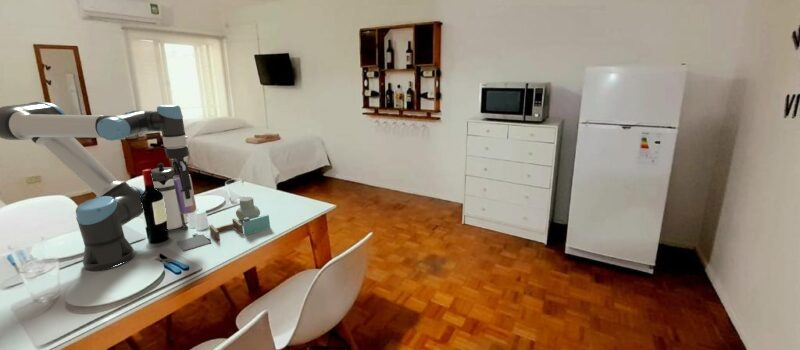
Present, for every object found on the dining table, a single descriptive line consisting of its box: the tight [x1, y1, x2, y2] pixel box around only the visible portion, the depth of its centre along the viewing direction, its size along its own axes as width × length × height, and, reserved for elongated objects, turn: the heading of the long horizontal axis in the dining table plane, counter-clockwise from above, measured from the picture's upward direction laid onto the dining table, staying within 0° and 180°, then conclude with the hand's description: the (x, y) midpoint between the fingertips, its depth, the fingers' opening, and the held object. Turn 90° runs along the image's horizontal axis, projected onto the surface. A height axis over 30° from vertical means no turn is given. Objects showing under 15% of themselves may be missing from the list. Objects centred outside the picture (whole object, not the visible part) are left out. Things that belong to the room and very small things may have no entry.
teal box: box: [242, 214, 271, 236], centre depth 161 cm, size 11×2×7 cm, turn 132°
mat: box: [176, 234, 212, 252], centre depth 152 cm, size 10×10×1 cm
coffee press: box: [150, 162, 189, 231], centre depth 161 cm, size 17×16×30 cm
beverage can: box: [173, 174, 197, 215], centre depth 145 cm, size 6×6×15 cm
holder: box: [208, 218, 244, 242], centre depth 159 cm, size 11×9×4 cm
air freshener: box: [235, 196, 261, 222], centre depth 173 cm, size 11×8×10 cm
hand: (186, 203), depth 146 cm, fingers closed on beverage can, 6 cm apart
